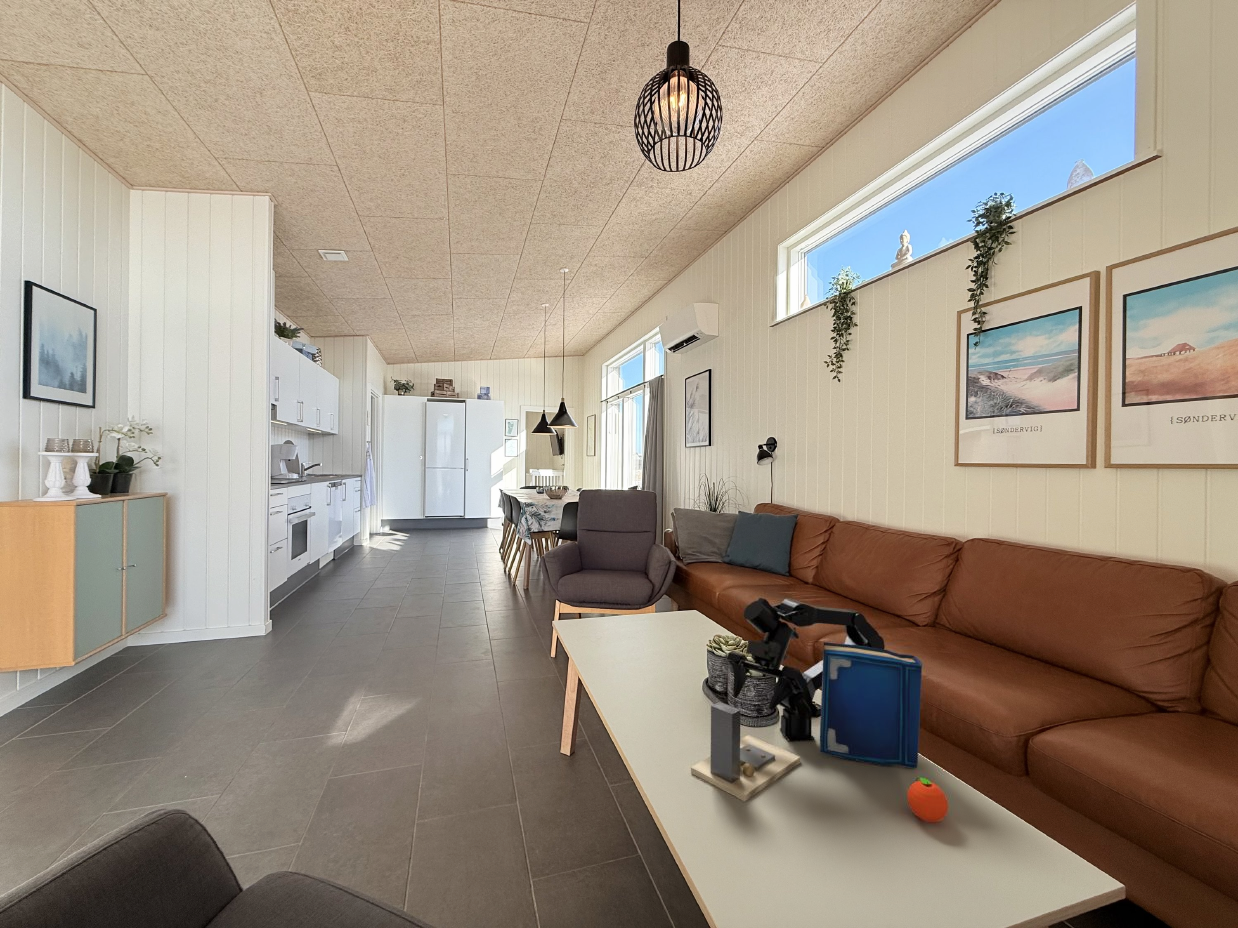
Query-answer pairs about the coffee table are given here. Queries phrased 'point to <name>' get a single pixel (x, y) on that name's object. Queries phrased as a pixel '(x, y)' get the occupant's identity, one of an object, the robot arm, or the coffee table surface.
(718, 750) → the grey block
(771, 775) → the board
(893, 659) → the book
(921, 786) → the clementine
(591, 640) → the coffee table surface
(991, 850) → the coffee table surface
